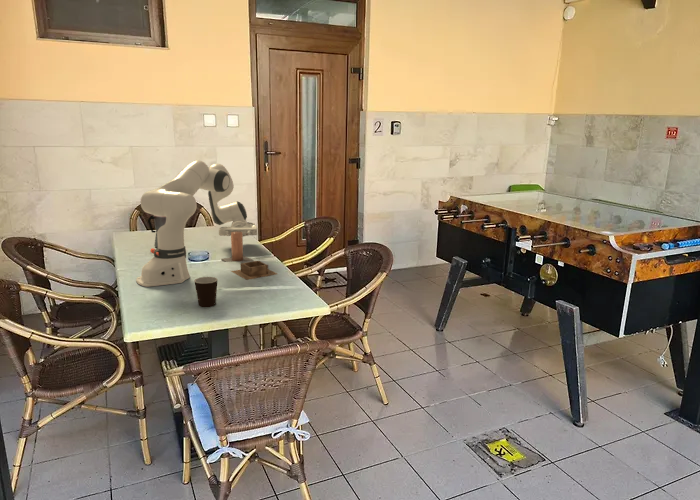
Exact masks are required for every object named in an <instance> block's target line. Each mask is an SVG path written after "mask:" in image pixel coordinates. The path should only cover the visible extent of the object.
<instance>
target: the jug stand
mask: <svg viewBox="0 0 700 500" xmlns="http://www.w3.org/2000/svg"><path fill="white" fill-rule="evenodd" d="M230 272H232V273H233V274H235V275H237V276H238V277H240V278H242V279H244V280H246V281H248V280H255V279H260V278H265V277H270V276H271V277H272V276H275V275H276V276H277V275H278V273H277V272H276V271H273V270H271V269H269V264H267V263H265V262H263V261H260V260H254V261H246V262H241V263H240V269H237V270H230Z"/></svg>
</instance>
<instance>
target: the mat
mask: <svg viewBox="0 0 700 500" xmlns="http://www.w3.org/2000/svg"><path fill="white" fill-rule="evenodd" d="M221 261H222V262H224V263H232V262H234V263H235V262H236V263H237V262H240V261H232V256H231V257H230V256H229V257H225V258H221ZM253 261H255V260H253V259H251V258H249V257H247V256H245V255H243V260H242V261H241V262H253Z"/></svg>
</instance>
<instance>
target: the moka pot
mask: <svg viewBox="0 0 700 500" xmlns="http://www.w3.org/2000/svg"><path fill="white" fill-rule="evenodd" d="M151 220H153V221H154V228H155V230H154V229H153V226H152V222H151ZM147 223H148V225H149V228H150V231H151V233H155V238H154V248H158V238H157V231H158V229H159V228H160V227H161V226H163V225H165V223H166V216H157V215H150V217H148V219H147Z"/></svg>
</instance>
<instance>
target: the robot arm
mask: <svg viewBox="0 0 700 500" xmlns="http://www.w3.org/2000/svg"><path fill="white" fill-rule="evenodd" d="M199 189H201V190H204V191H208V192H207V195H208V202H209V205H210V211H211V212H210V213H211V214H210V215H211V220H212V222H213V223H214V224H216V225H218V226H221V225H224V224H226V223H230V222H232V223H231V225H230V226H221V227H219V228H218V236H223V237H225V236H226V237H231V232H234V231H240V232H242V235H243V237H246V236H247V237H249V236H258V226H257V225H256V224H255V222H250V221H249V222H247V218H248V214H247V210H246V208H245V205H244V204H243V203H241V202H239V201H234V202H230V203H227V204H223V205H219V204H218V203H219V202H220V201H222V200H223V199H225V198H227V197H229V196H230V195H231V194H232V192H233V191H234V182H233V177H232V176H231V174H230V172H229V170H227V168H226V166H224V165H223V164H221V163H213V164H212V165H210V166H208V165H207V164H206V162H204V161H202V160H200V159H199V160H197V159H196V160H194V161H192V162H190V163H188V164H187V165H186V166H185V167H184V168H183V169H181V171H179V173H178V174H176V175H175V177H174V178H172V179H171V180H170V181H168V182H166V183H165V184H163V185H161V186H159V187H157V188H155V189H152V190H148V191H146V192H145V191H144V193H143V194H142V196H141V198H140V207H141V209H142V211H144V212H145V213H147V214H150V215H151V216H154V215H157V216H166V223H165V225H163V226H161V227H160V228H159V229H158V231H157V238H158V247H156V249H155V247H154V248H150V253H151V254H153V257H152V258H151V259H150V260H149V261H148V262H147V263H145V264H144V265H143V266H142V268H141V275H140V276H138V277H136V278H135V279H136V283H137V284H139V285H140V286H142V287H145V288H146V287H148V288H149V287H150V288H151V287H158V286H165V285H174V284H182V283H184V282H185V281H186V280H189V279H190V277H191V276H190V275H191V274H190V272H189V269H188V263H187V249H186V246H185V228H186V224H187V222H188V221H189V219H190V218H191V217H192V216H193V215H194V214H195V213H196V210H197V206H198V205H197V200H196V198H195V197H194V195H195V194H197V192H198V191H199Z"/></svg>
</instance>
